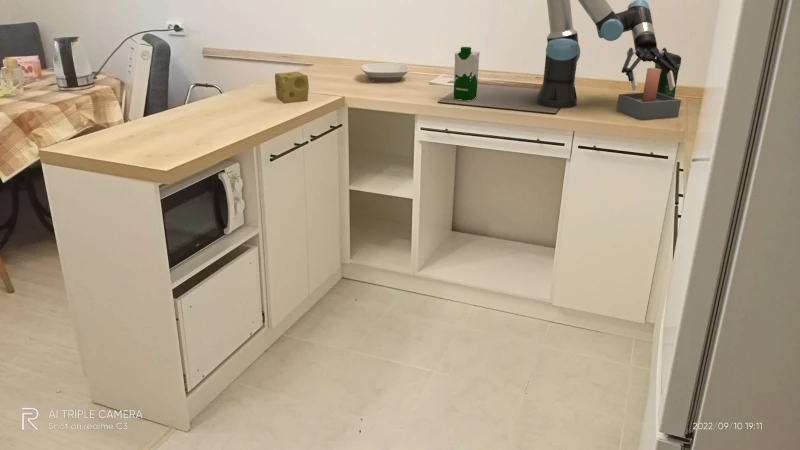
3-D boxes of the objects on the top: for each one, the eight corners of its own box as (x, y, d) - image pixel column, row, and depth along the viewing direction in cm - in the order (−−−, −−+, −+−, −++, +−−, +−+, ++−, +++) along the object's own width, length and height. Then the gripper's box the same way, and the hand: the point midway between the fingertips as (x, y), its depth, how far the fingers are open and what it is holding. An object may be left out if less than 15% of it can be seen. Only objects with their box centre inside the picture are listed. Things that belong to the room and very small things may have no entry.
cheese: (283, 104, 242) (281, 77, 238) (275, 98, 251) (273, 72, 247) (309, 101, 246) (308, 75, 242) (300, 95, 255) (298, 70, 251)
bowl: (359, 74, 294) (359, 63, 292) (406, 74, 297) (406, 62, 294) (362, 84, 275) (362, 72, 273) (412, 83, 277) (412, 71, 275)
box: (640, 119, 224) (643, 103, 222) (616, 110, 236) (618, 94, 234) (677, 116, 229) (681, 100, 226) (652, 107, 241) (655, 91, 238)
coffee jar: (677, 103, 247) (686, 54, 239) (657, 104, 246) (666, 55, 238) (664, 98, 255) (672, 50, 248) (645, 98, 254) (653, 51, 247)
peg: (645, 115, 230) (652, 70, 224) (637, 112, 234) (644, 68, 227) (655, 114, 231) (663, 69, 225) (647, 111, 235) (655, 67, 229)
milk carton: (450, 99, 250) (452, 47, 242) (458, 95, 257) (461, 44, 249) (471, 102, 247) (474, 49, 238) (479, 97, 254) (482, 46, 246)
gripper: (673, 45, 238) (683, 93, 230) (607, 44, 237) (615, 94, 229) (682, 32, 231) (693, 82, 223) (614, 32, 230) (623, 82, 222)
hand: (653, 88), depth 226 cm, fingers open, 13 cm apart
